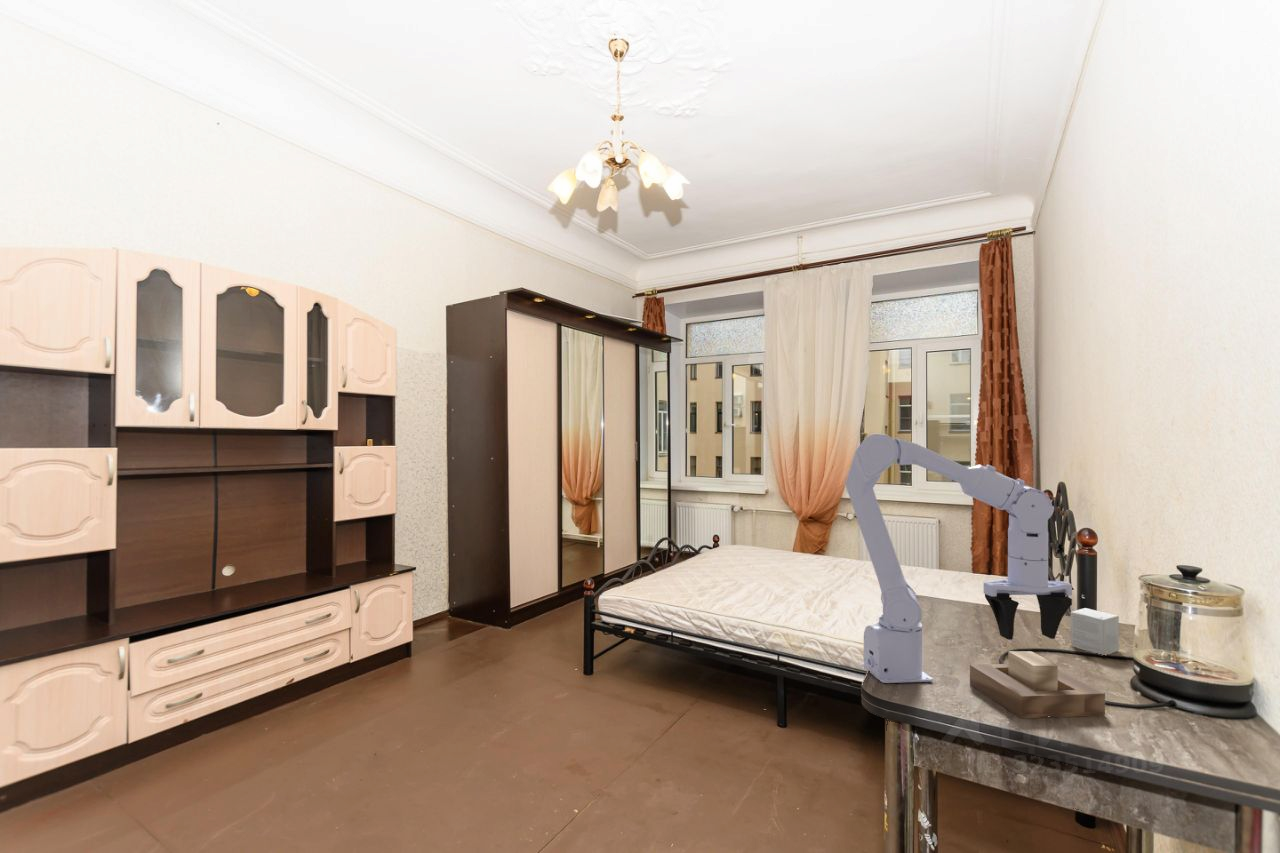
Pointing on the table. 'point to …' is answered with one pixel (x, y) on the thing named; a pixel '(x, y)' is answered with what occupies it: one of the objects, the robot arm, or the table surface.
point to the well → (1037, 694)
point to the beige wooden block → (1033, 671)
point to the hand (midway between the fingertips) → (1027, 637)
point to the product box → (1095, 631)
